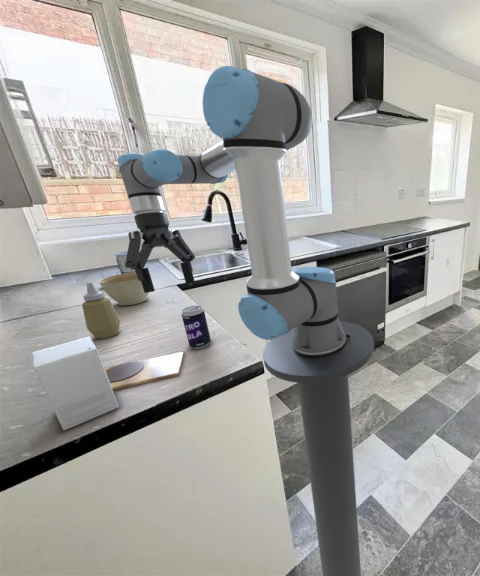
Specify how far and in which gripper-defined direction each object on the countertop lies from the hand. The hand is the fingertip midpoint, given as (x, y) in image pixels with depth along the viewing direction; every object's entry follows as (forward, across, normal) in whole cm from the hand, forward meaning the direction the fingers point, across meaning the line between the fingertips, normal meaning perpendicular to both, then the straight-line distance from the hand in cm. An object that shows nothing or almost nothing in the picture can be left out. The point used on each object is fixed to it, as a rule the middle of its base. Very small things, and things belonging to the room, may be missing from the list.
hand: (171, 287), depth 90 cm
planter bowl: (+5, -27, -51) cm, 58 cm away
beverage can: (+19, -1, +4) cm, 19 cm away
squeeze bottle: (+12, -1, -32) cm, 34 cm away
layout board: (+20, +15, -2) cm, 25 cm away
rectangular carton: (+22, +28, 0) cm, 35 cm away
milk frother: (-2, -46, -77) cm, 90 cm away
